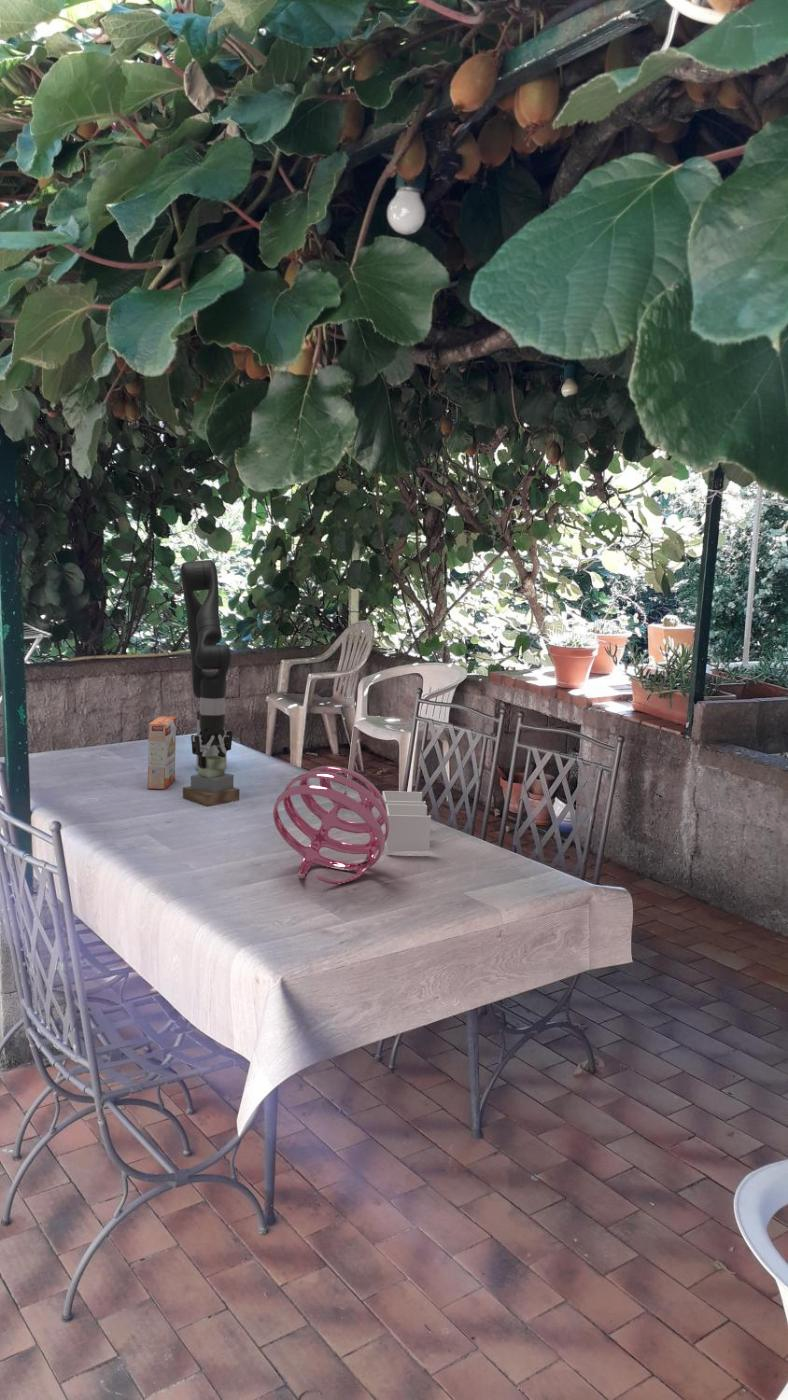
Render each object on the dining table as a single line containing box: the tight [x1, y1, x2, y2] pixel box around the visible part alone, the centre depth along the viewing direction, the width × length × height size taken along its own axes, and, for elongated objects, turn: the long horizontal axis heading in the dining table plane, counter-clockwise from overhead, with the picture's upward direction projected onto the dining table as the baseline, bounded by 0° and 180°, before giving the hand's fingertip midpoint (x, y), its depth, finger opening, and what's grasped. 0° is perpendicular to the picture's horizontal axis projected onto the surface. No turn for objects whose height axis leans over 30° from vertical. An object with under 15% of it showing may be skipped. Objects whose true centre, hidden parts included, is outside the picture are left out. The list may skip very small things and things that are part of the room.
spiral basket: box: [272, 765, 389, 885], centre depth 247 cm, size 28×28×27 cm
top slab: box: [190, 772, 235, 793], centre depth 313 cm, size 9×9×4 cm
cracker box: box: [147, 715, 177, 790], centre depth 328 cm, size 14×6×21 cm, turn 179°
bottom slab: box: [182, 785, 240, 808], centre depth 314 cm, size 12×12×4 cm
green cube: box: [197, 755, 226, 778], centre depth 313 cm, size 6×6×6 cm
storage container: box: [381, 790, 432, 852], centre depth 278 cm, size 25×11×11 cm, turn 4°
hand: (211, 766), depth 313 cm, fingers open, 6 cm apart
